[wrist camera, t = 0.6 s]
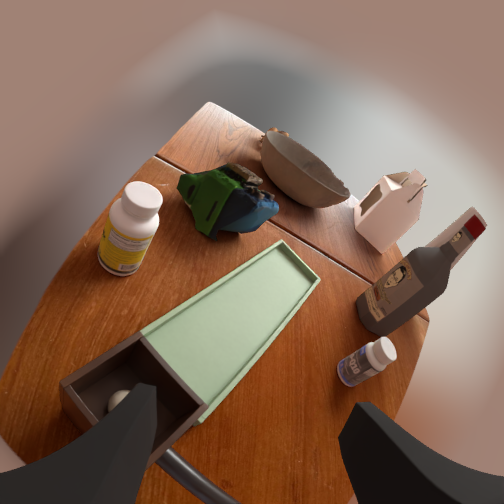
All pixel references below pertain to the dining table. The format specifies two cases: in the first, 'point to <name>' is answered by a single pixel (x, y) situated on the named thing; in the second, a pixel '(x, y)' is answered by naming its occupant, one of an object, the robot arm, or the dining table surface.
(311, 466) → the dining table surface
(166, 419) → the brown rectangular box
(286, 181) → the bowl
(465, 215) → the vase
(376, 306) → the liquor
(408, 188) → the cardboard gift box
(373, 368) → the pill bottle
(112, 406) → the ball
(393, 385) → the dining table surface
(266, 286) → the tray
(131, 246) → the supplement bottle
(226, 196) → the sculpture
